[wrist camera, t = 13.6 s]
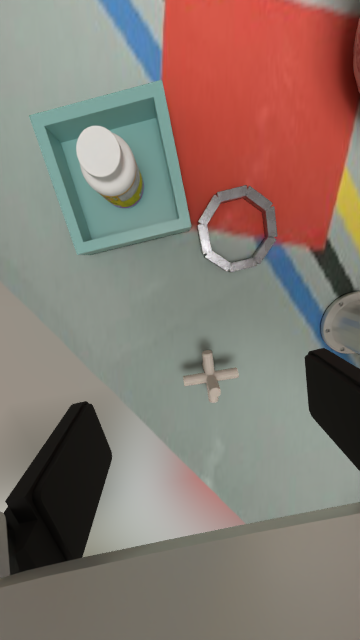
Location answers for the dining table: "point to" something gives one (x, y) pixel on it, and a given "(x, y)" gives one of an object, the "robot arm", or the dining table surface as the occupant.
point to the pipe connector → (210, 376)
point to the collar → (268, 222)
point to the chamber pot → (357, 57)
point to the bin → (151, 157)
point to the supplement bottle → (109, 166)
